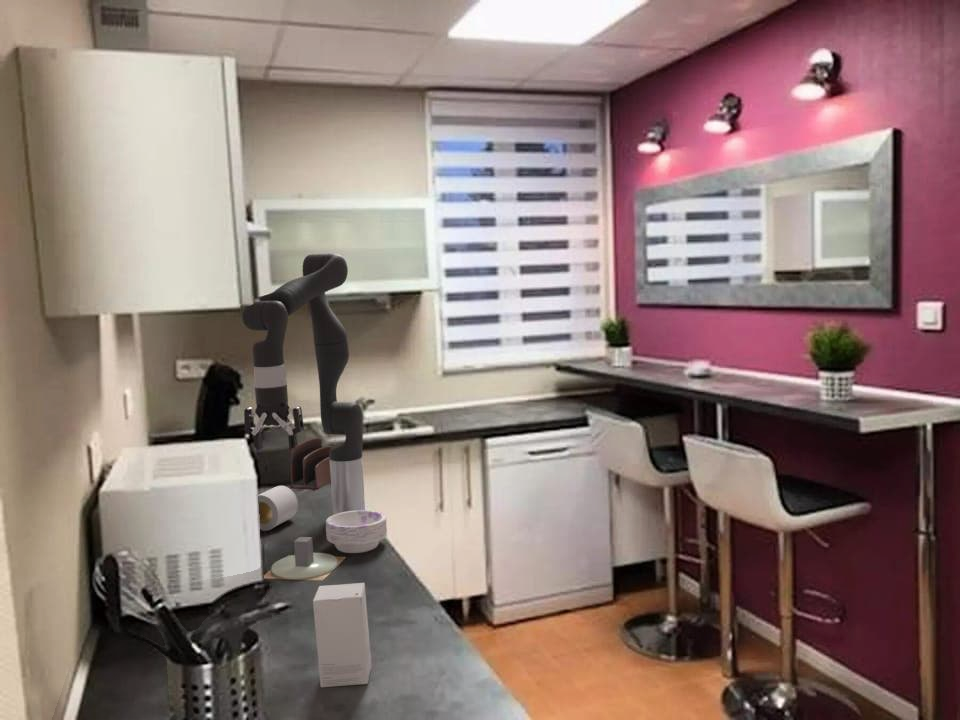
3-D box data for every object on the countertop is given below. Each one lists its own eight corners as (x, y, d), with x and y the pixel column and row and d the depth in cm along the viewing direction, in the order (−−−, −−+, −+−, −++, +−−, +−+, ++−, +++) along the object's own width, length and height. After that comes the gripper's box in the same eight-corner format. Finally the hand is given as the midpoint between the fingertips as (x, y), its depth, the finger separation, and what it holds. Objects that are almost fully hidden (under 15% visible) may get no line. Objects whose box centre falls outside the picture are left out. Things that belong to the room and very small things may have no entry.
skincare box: (372, 667, 138) (367, 581, 136) (368, 686, 131) (363, 596, 130) (324, 669, 138) (318, 583, 136) (317, 689, 131) (312, 599, 129)
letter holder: (291, 488, 261) (288, 446, 259) (321, 473, 280) (319, 434, 278) (317, 489, 258) (315, 447, 256) (346, 474, 276) (344, 435, 275)
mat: (288, 556, 195) (288, 554, 195) (346, 558, 192) (346, 556, 192) (260, 580, 180) (260, 577, 180) (322, 582, 177) (322, 580, 177)
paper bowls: (393, 537, 207) (391, 508, 206) (380, 558, 192) (378, 527, 191) (336, 538, 208) (334, 508, 207) (319, 558, 193) (317, 527, 192)
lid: (288, 554, 195) (286, 528, 194) (346, 556, 192) (345, 529, 191) (260, 578, 180) (258, 549, 180) (322, 580, 177) (321, 551, 177)
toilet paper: (279, 532, 215) (276, 496, 214) (248, 529, 218) (245, 494, 217) (299, 520, 225) (296, 486, 223) (268, 518, 228) (266, 484, 227)
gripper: (304, 380, 192) (309, 445, 194) (250, 381, 194) (255, 445, 196) (292, 386, 184) (297, 453, 187) (235, 387, 187) (241, 453, 189)
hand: (275, 449), depth 192 cm, fingers open, 8 cm apart
